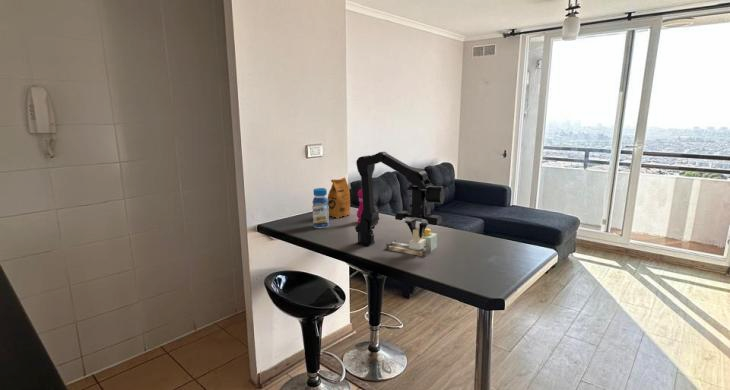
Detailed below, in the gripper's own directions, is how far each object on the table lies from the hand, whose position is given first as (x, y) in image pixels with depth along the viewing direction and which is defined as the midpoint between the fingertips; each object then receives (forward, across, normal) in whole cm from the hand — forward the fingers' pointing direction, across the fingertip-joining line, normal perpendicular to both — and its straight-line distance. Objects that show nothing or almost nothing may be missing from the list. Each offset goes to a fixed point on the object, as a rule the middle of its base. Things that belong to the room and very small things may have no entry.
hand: (417, 237), depth 162 cm
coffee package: (+7, +65, -34) cm, 74 cm away
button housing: (+7, -1, -8) cm, 10 cm away
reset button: (+4, -1, -8) cm, 8 cm away
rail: (+7, +4, 0) cm, 8 cm away
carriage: (+4, 0, 0) cm, 4 cm away
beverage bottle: (+7, +60, -11) cm, 62 cm away
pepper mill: (+7, +45, -29) cm, 54 cm away
